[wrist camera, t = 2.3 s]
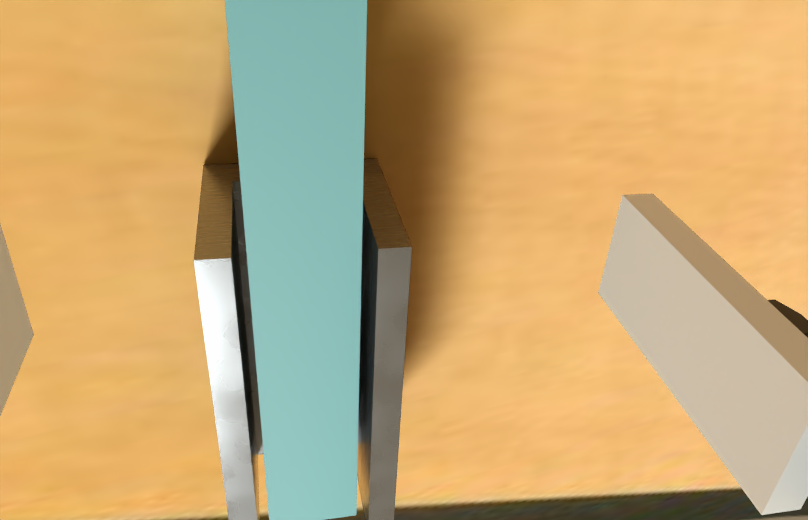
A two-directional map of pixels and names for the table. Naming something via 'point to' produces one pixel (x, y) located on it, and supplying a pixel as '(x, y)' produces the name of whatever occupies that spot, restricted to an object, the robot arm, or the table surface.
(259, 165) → the bar
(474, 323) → the table surface
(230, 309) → the sleeve
